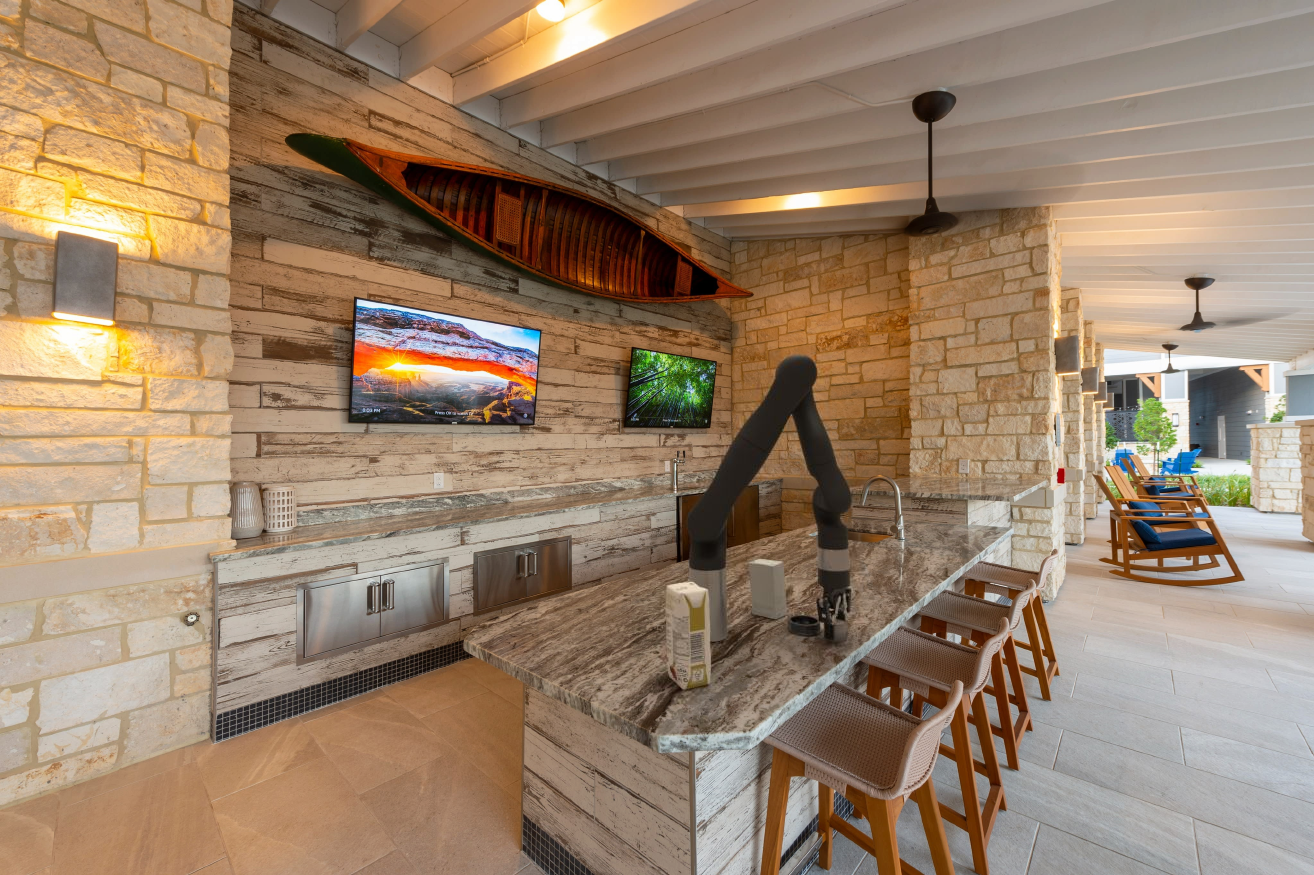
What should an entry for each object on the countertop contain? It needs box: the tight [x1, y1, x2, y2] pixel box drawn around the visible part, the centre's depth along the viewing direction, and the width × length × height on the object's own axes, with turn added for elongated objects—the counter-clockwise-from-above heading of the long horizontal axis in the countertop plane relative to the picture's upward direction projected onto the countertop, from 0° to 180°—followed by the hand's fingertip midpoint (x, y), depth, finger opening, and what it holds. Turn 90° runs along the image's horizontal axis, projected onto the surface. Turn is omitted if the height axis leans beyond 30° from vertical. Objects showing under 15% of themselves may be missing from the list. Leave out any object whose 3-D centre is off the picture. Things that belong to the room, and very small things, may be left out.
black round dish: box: [787, 614, 821, 637], centre depth 133 cm, size 8×8×3 cm
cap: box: [823, 618, 848, 644], centre depth 127 cm, size 6×5×4 cm
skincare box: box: [748, 558, 788, 620], centre depth 146 cm, size 8×6×15 cm
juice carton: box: [665, 581, 712, 690], centre depth 107 cm, size 8×9×19 cm
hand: (835, 635), depth 127 cm, fingers closed on cap, 5 cm apart
